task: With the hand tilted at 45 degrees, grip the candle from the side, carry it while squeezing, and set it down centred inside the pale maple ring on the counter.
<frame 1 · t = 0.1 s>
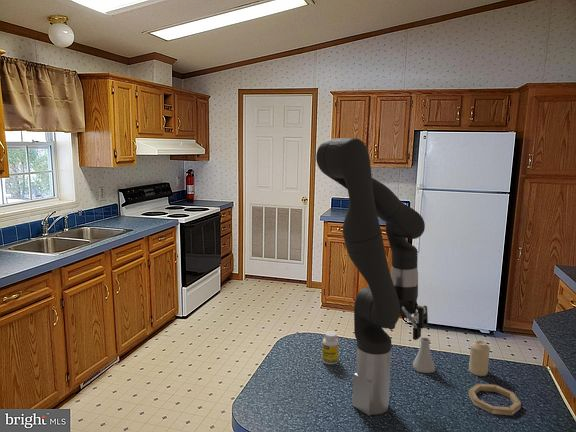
hand: (403, 333, 123), 17 cm above the countertop, tool pointing down, fingers open, 8 cm apart
flask: (423, 368, 138), on the countertop
supplement bottle: (330, 361, 142), on the countertop
maple ring: (493, 401, 120), on the countertop
candle: (478, 372, 136), on the countertop
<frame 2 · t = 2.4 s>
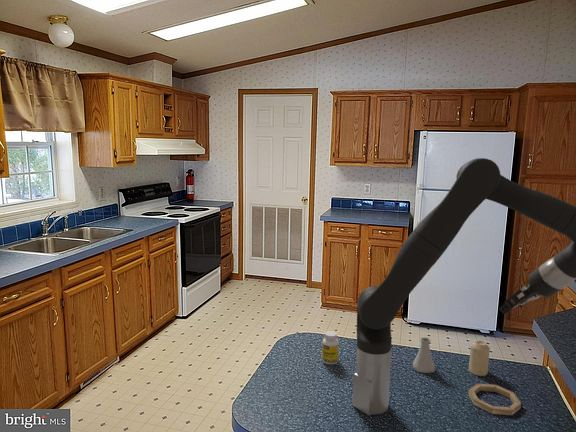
hand: (510, 307, 121), 26 cm above the countertop, tool tilted 40°, fingers open, 8 cm apart
nothing on the countertop moved.
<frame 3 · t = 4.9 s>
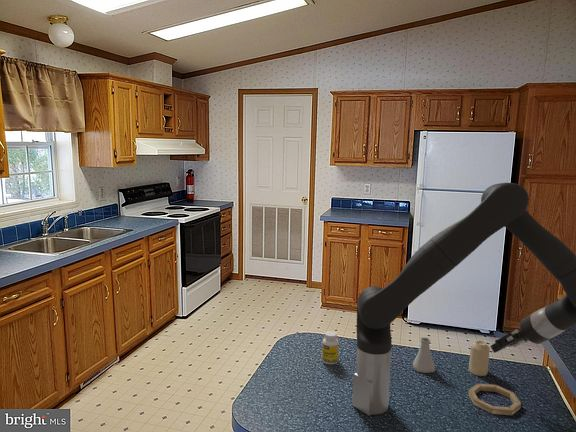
hand: (502, 346, 127), 12 cm above the countertop, tool tilted 45°, fingers open, 8 cm apart
nothing on the countertop moved.
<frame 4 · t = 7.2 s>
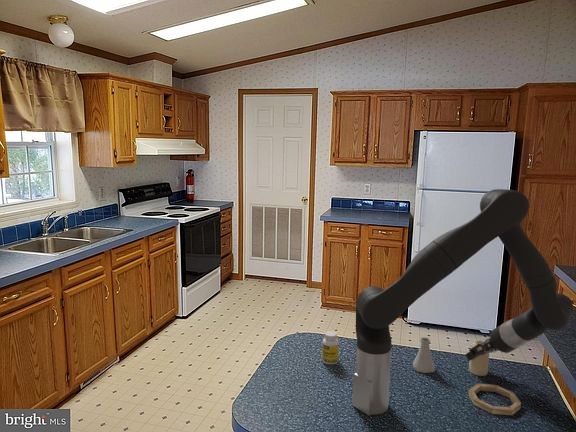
hand: (474, 355, 137), 5 cm above the countertop, tool tilted 45°, fingers closed on candle, 5 cm apart
candle: (478, 372, 136), on the countertop, touching gripper
everything else where it was.
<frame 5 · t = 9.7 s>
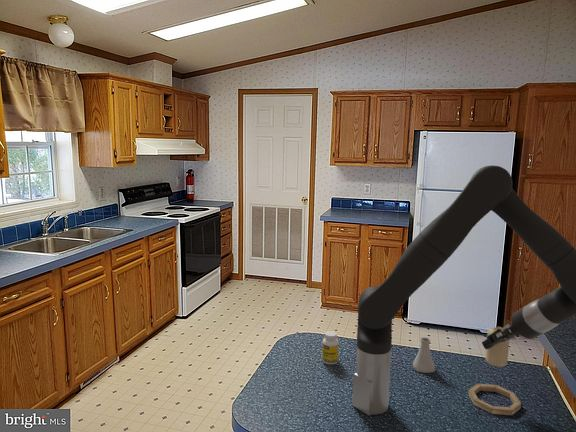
hand: (491, 343, 120), 16 cm above the countertop, tool tilted 45°, fingers closed on candle, 5 cm apart
candle: (496, 362, 119), point 11 cm above the countertop, touching gripper
everything else where it was.
when the fingers open (6 cm above the countertop, at t = 12.2 s): candle drops 1 cm, resting in maple ring.
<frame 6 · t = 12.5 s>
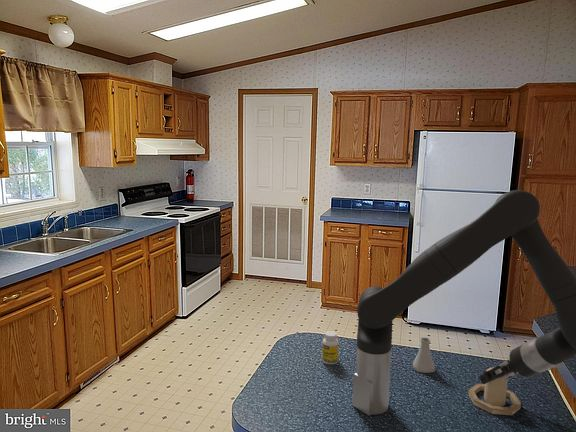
hand: (491, 377, 120), 7 cm above the countertop, tool tilted 45°, fingers open, 8 cm apart
candle: (494, 402, 120), resting in maple ring
everything else where it was.
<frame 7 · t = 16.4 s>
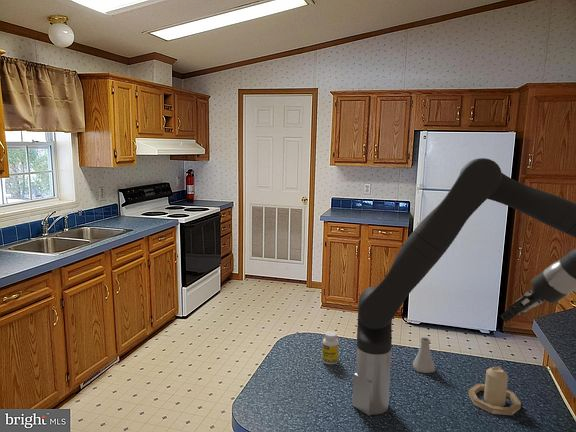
hand: (510, 314, 115), 26 cm above the countertop, tool tilted 40°, fingers open, 8 cm apart
nothing on the countertop moved.
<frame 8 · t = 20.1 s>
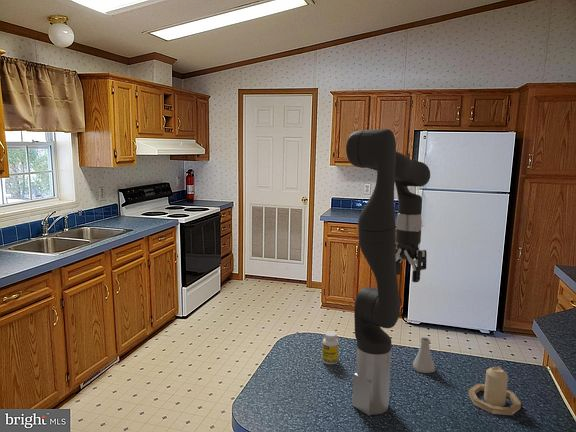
hand: (406, 278, 134), 30 cm above the countertop, tool pointing down, fingers open, 8 cm apart
nothing on the countertop moved.
at the end: candle 0.2 cm off-centre on the maple ring, point 0.0 cm above the maple ring's base; candle tilted 0°; the gripper is holding nothing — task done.
